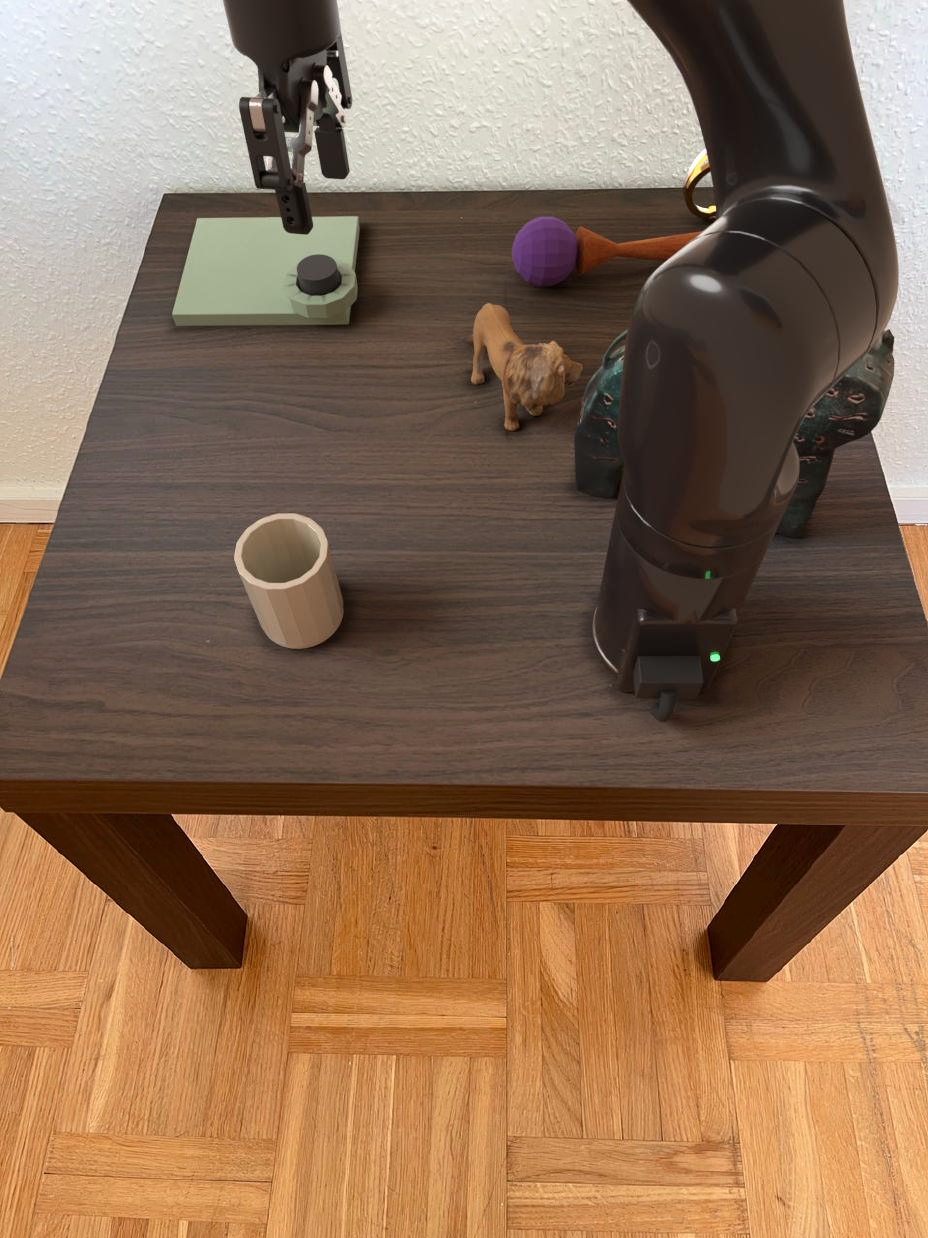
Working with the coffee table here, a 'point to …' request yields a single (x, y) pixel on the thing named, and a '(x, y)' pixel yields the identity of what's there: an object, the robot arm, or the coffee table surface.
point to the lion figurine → (519, 364)
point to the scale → (264, 273)
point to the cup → (290, 579)
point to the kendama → (578, 250)
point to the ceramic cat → (821, 432)
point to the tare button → (318, 275)
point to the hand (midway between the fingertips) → (318, 203)
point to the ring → (690, 183)
